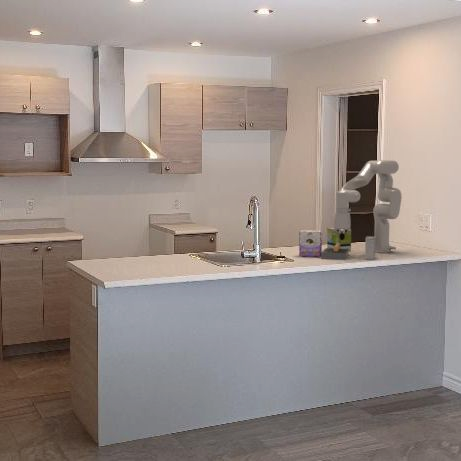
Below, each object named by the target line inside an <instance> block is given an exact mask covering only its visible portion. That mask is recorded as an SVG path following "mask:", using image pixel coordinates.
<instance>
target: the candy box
mask: <svg viewBox="0 0 461 461" xmlns="http://www.w3.org/2000/svg"><path fill="white" fill-rule="evenodd" d="M298 235H299V239H298V241H299V247H298V248H299V251H298V253H299V257H304V258H305V257H306V258H321V252H322V251H323V230H313V229H312V230H307V229H306V230H299V234H298Z"/></svg>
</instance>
